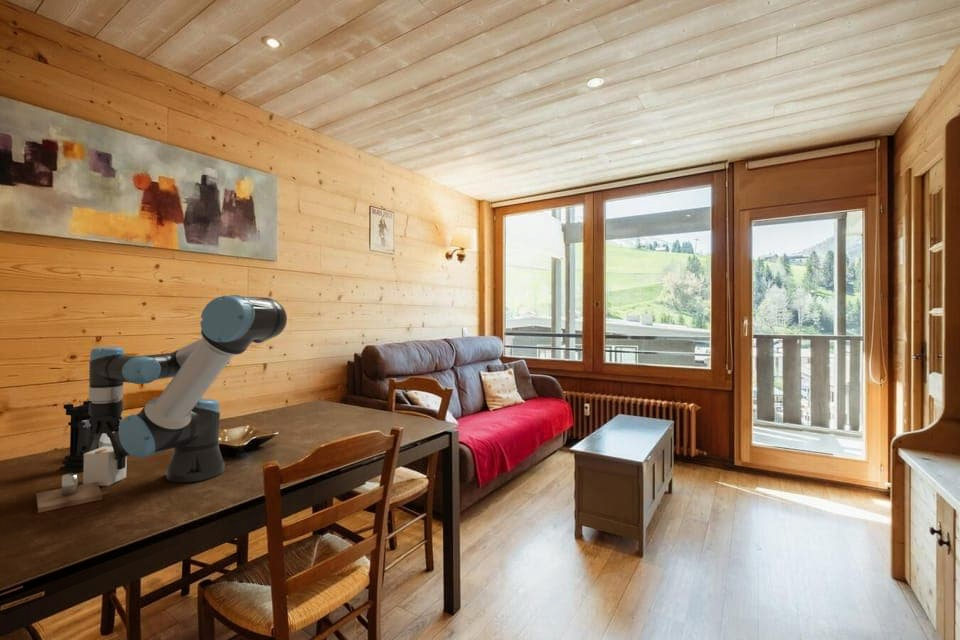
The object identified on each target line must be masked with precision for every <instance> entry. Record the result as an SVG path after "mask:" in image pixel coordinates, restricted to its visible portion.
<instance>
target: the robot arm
mask: <svg viewBox="0 0 960 640" xmlns="http://www.w3.org/2000/svg"><path fill="white" fill-rule="evenodd" d="M200 318H201V319H202V320H201V321H199V322H200V327H201V328H200V329H201V330H200V335H201V337H202V338H199V339H197V340H195V341H193V342H191V343H189V344H187V345H185V346H182V347H180V348H179V349H177V350H174V351H172V352H166V353H160V354H159V353H156V354H145V355H126V354H125V348H123V347H121V346H101V347H99V346H98V347H94V348H92V349H91V350H90V355H89V356H90V357H89V361H88V363H89V373H88V375H89V386H88V387H89V388H88V400H89V401H92V402H90V403H89V415H90V416H91V417H90V419H89V420H84V421H80V422H78V426H79V437H78V444H77V451H76V455H77V456H79V455H80V456H83V458H84V453H87V452H90V451H93V450H95V449H96V448H97V445H98V443H99V440H100V438H101V435H102V434H103V433H105V434H107V437H109V438H110V441H111V444H112V447H113V450H114V453H115V455H116V458H114V459H113V482H115V483H117V482H119V481H120V479H121V480H124V478H123V468H125V458H126V456H127V457H128V456H131V457H134V458H145V457H150V456H154V455H155V454H159V453H162V452H166V451H168V450H171V449H173V454H172V456H171V459H170V462H169V465H168V467H167V468H166V471H165V478H166V480H167V481H169V482H173V483H191V482H192V483H194V482H200V481H205V480H209V479H212V478H215V477H218V476H219V475H221V474H223V473H224V472H225V460H224V458H223V456H222V455H223V454H222V452H221V449H220V446H219V445H220V443H219V442H220V419H221V411H220V402H219V401H218V400H216V399H212V398H203V397H204V395H205V394H206V392H207V391H208V390H209V389H210V387H211V386H212V385H213V383H214V382H215V380H216V379H217V378H218V377H219V375H220V374H221V372H222V371H223V370H224V369H225V367H226V366H227V365H228V363H229V362H230V361H231V360H232V358H233V357H234V356H239V355H242V354H243V353H244V352H245V351H246V350H247V349H248V347H249V346H250V345H251V344H253V343H254V344H261V343H265V342H266V341H269V340H270V339H273V338H276V337H277V336H279V335H280V334H281V333H283V331H284V329H285V328H286V326H287V322H288V315H287V311H286V310H285V309H284V307H283V305H282V304H281V303H280V302H278V301H277V300H276V299H273V298H269V297H258V296H243V295H238V294H230V295H221V296H218V297H216V298H213V299H211V301H209V302H208V303H207V304H206V305H205V306H204V308H203V309H202V312H201V315H200ZM170 378H172V379H170ZM162 379H164V380H165V379H170V382H169V383H168V384H167V386H166V387H165V388H164V390H163V391H162V392H161V394H160V395H159V396H158V397H154V398H151V399H150V400H149V401H147V402H146V403H145V405H144V406H143V408H142V409H141V410H140V411H139V412H138V413H136V414H135V413H134V414H133V413H132V414H129V415H128V416H125V417H124V418H123V417H122V413H123V412H124V411H123V409H124V405H123V404H124V401H123V400H122V399H123V397H124V383H128V384H135V385H140V384H145V385H147V384H151V383H153V382H154V381H157V380H162ZM91 426H92V430H91ZM90 431H91V433H90ZM90 435H91V436H90ZM89 438H90V439H89ZM118 480H119V481H118ZM116 481H117V482H116Z"/></svg>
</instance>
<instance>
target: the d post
mask: <svg viewBox="0 0 960 640" xmlns="http://www.w3.org/2000/svg"><path fill="white" fill-rule="evenodd" d="M78 473H79V472H71V473H66V474H63V475H62V477H61V488H62V496H71V495H74V494H76V493H77V485H78V482H79V481H78V476H79V475H78Z"/></svg>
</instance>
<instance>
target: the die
mask: <svg viewBox="0 0 960 640" xmlns="http://www.w3.org/2000/svg"><path fill="white" fill-rule="evenodd" d="M103 446H106V447H112V444H111V441H110V438H109V437H107V434H105V433H103V434H102V435H101V438H100V440H99V448H101V447H103Z"/></svg>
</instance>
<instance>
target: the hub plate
mask: <svg viewBox="0 0 960 640" xmlns="http://www.w3.org/2000/svg"><path fill="white" fill-rule="evenodd" d="M102 492H103V491H102V490H101V488H100V486H98V484H97V482H92V483H87V484H83V483H82V484H77V493H76V494H74V495H71V496H62V487H61V488H57V489H52V490H46V491H41V492H37V493H36V494H35V495H36V507H37V513H38V514H40V513H44V512H49V511H52V510H57V509H63V508H68V507H73V506H77V505H82V504H86V503H91V502H95V501H100V500H103V493H102Z"/></svg>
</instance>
